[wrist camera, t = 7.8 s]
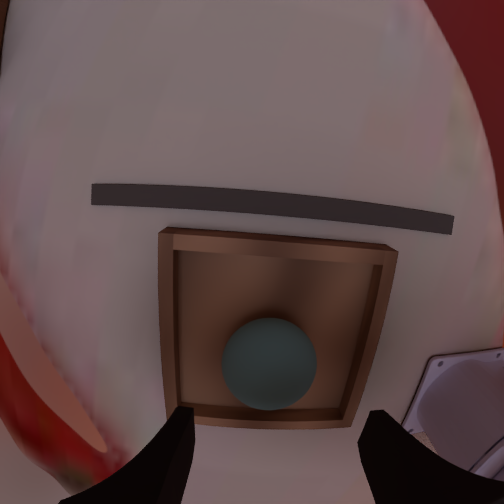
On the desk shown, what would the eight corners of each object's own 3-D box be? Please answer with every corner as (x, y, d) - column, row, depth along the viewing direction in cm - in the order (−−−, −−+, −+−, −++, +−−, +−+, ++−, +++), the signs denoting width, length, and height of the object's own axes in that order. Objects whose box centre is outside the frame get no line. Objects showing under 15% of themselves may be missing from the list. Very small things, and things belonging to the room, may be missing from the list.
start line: (451, 215, 17) (454, 216, 17) (448, 233, 17) (451, 234, 17) (94, 183, 16) (91, 184, 16) (93, 204, 17) (91, 204, 16)
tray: (385, 244, 17) (398, 251, 16) (344, 411, 20) (350, 427, 19) (167, 226, 17) (158, 232, 15) (171, 403, 20) (166, 420, 18)
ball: (318, 306, 18) (332, 352, 13) (304, 377, 19) (311, 431, 14) (230, 298, 18) (215, 341, 13) (226, 370, 19) (213, 423, 14)
